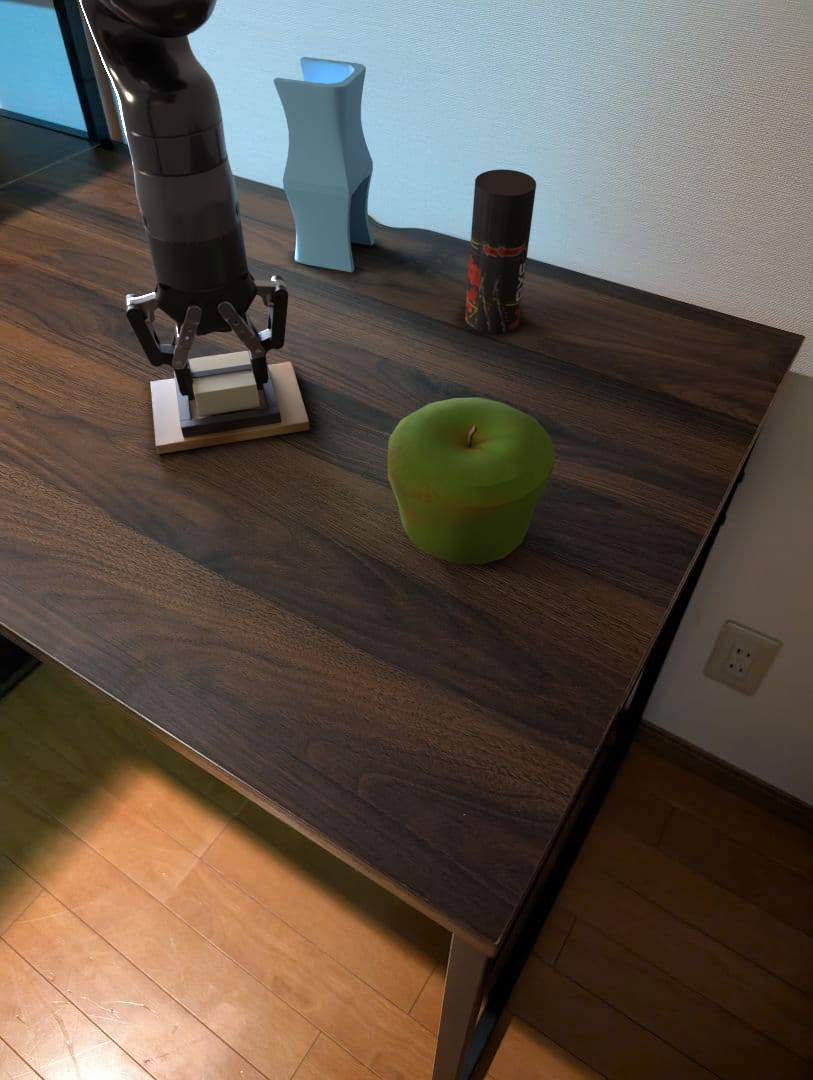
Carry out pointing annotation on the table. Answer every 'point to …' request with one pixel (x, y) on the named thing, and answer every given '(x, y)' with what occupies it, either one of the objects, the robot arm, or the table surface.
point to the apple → (468, 477)
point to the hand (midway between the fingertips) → (225, 389)
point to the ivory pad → (224, 383)
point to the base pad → (227, 414)
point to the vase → (327, 161)
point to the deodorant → (498, 249)
